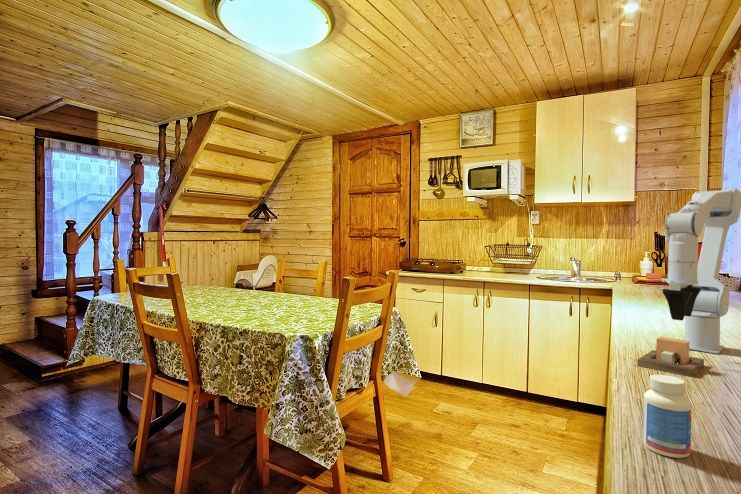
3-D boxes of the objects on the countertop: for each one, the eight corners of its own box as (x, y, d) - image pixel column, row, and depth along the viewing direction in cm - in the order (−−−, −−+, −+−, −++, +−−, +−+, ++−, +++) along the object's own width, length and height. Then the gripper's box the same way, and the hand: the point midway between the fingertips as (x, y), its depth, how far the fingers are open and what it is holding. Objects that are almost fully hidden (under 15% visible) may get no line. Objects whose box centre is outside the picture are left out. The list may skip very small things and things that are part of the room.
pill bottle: (699, 461, 54) (701, 387, 54) (653, 457, 55) (655, 384, 55) (677, 441, 60) (679, 374, 59) (636, 437, 61) (637, 371, 60)
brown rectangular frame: (652, 356, 103) (653, 342, 103) (703, 365, 95) (704, 350, 95) (637, 365, 95) (637, 350, 95) (691, 376, 87) (692, 360, 87)
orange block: (659, 359, 98) (660, 336, 98) (689, 365, 94) (689, 341, 94) (656, 362, 96) (656, 338, 96) (685, 368, 92) (686, 343, 92)
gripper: (670, 260, 108) (669, 312, 109) (654, 262, 99) (653, 319, 99) (704, 261, 103) (703, 315, 103) (691, 263, 93) (690, 323, 94)
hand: (681, 317), depth 101 cm, fingers open, 7 cm apart
